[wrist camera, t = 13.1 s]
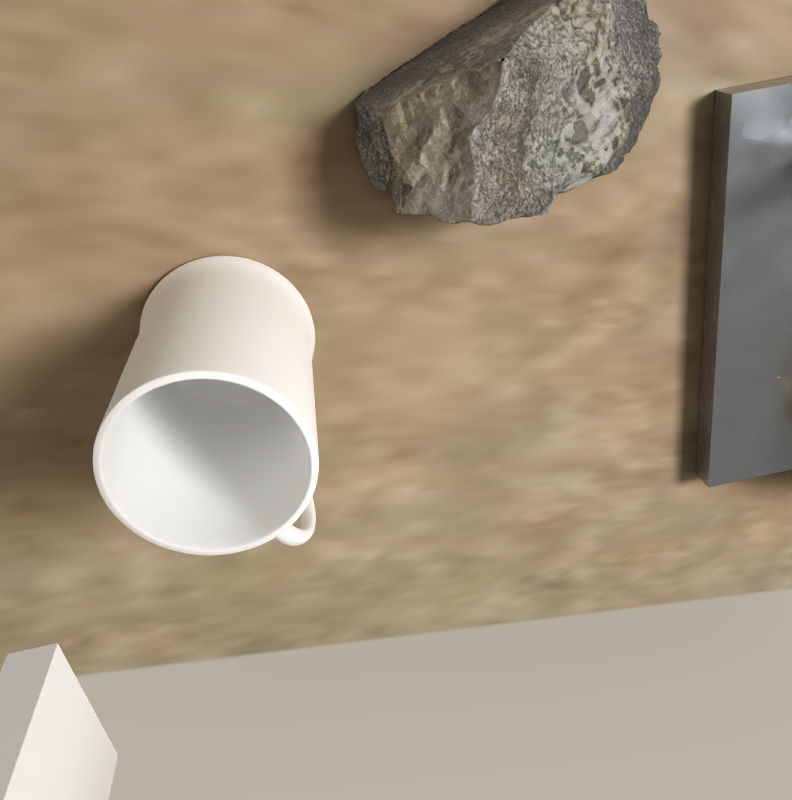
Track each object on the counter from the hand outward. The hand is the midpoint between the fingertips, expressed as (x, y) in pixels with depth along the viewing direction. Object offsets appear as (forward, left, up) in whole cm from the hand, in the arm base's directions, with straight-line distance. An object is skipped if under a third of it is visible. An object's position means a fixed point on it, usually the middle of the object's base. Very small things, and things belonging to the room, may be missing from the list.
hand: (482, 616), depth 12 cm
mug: (+7, -7, -27) cm, 29 cm away
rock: (-3, +8, -27) cm, 28 cm away
